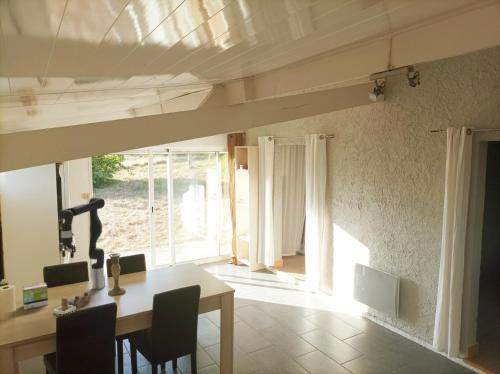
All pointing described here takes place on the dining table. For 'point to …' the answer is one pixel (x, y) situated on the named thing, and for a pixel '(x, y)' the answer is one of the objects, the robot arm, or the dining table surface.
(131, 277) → the dining table surface
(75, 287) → the dining table surface
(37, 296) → the tea box
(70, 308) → the tray
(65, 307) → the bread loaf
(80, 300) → the block
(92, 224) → the robot arm
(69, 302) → the grey rectangular block
